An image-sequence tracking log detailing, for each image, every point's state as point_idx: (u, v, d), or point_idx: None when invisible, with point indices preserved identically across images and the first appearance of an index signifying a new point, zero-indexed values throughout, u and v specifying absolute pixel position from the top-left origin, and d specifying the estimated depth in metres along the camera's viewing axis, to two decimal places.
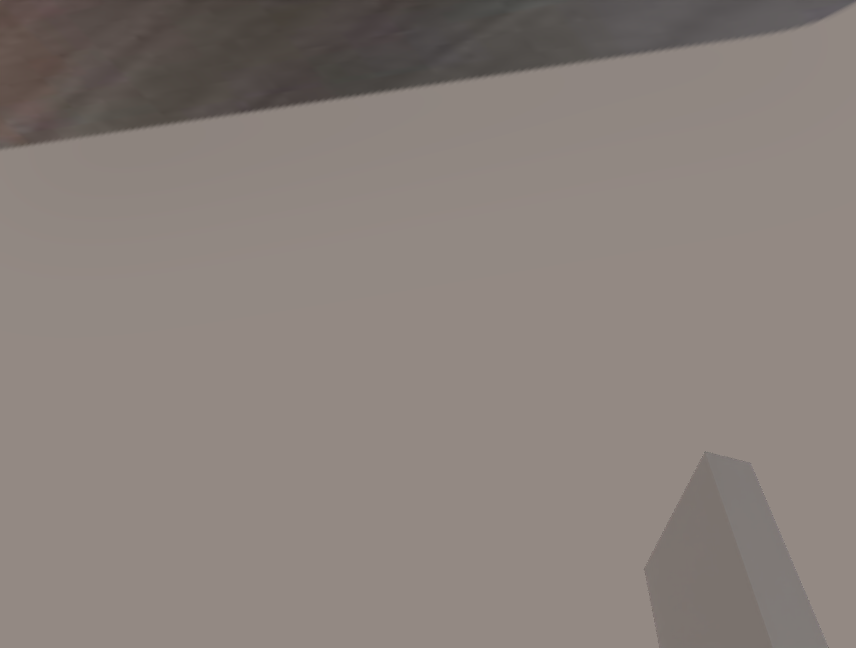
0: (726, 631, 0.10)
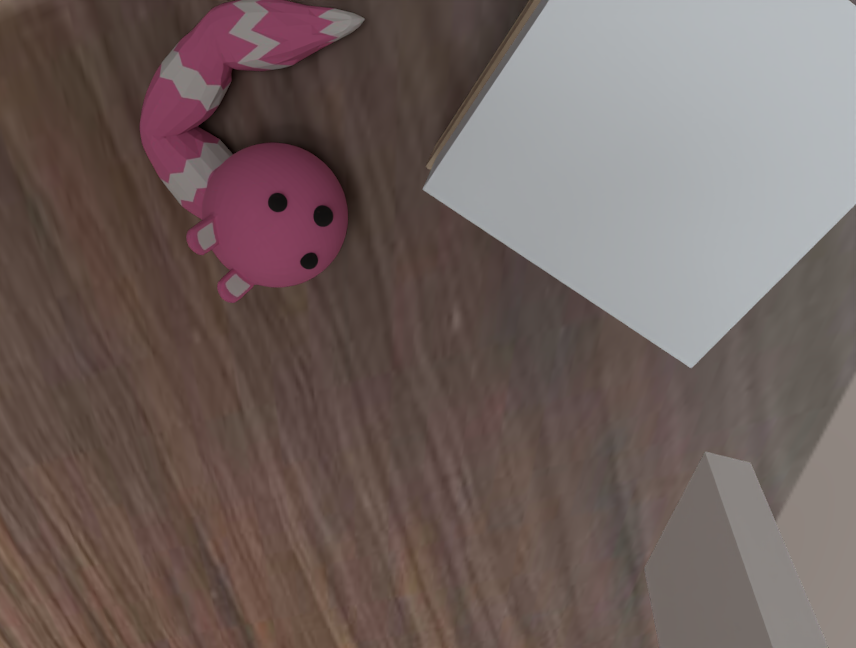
0: (726, 632, 0.10)
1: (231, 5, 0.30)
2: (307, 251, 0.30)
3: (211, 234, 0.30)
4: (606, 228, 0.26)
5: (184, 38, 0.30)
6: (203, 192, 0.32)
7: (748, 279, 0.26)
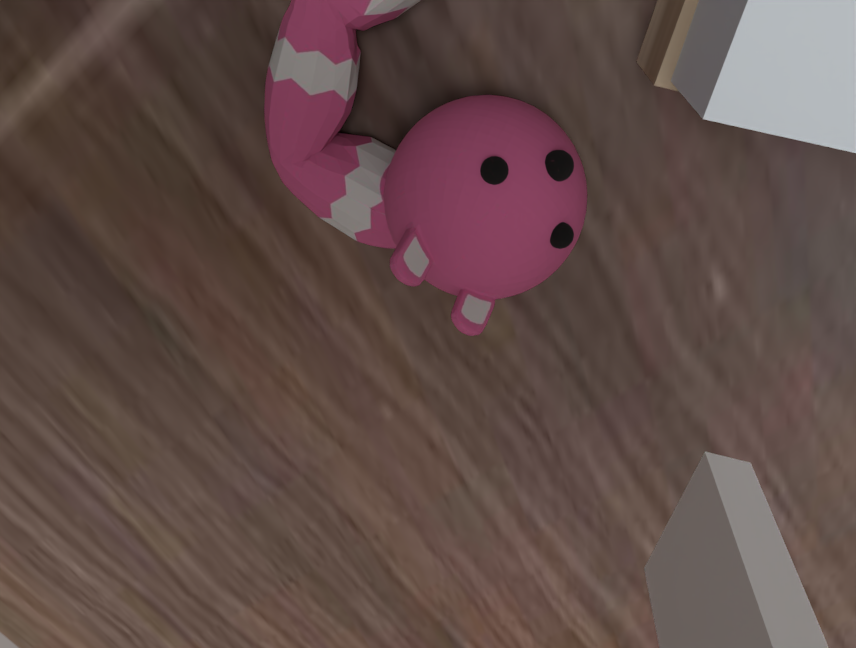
0: (726, 632, 0.10)
1: None
2: (555, 223, 0.21)
3: (420, 253, 0.21)
4: None
5: (285, 17, 0.22)
6: (380, 209, 0.24)
7: None
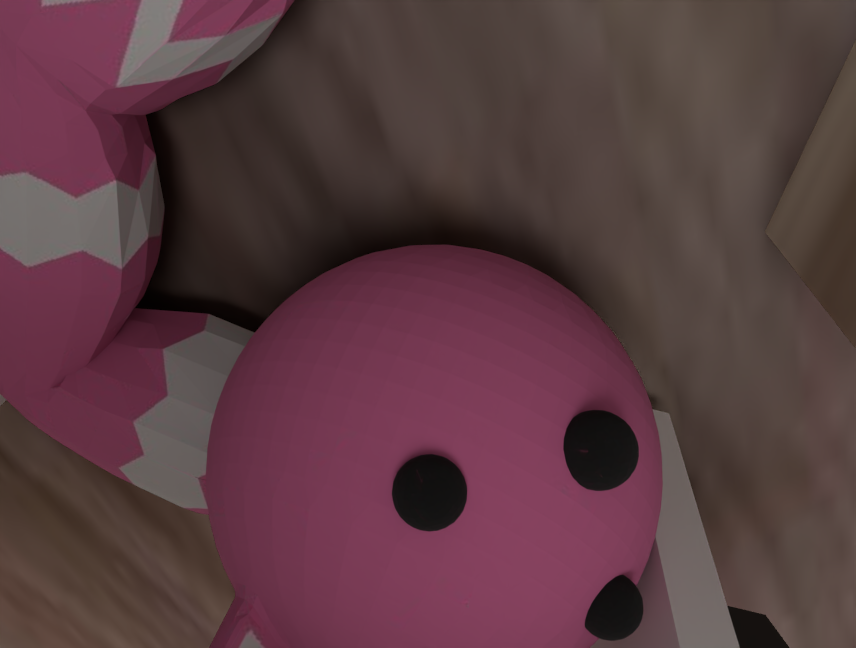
0: None
1: None
2: (596, 588, 0.08)
3: None
4: None
5: None
6: None
7: None
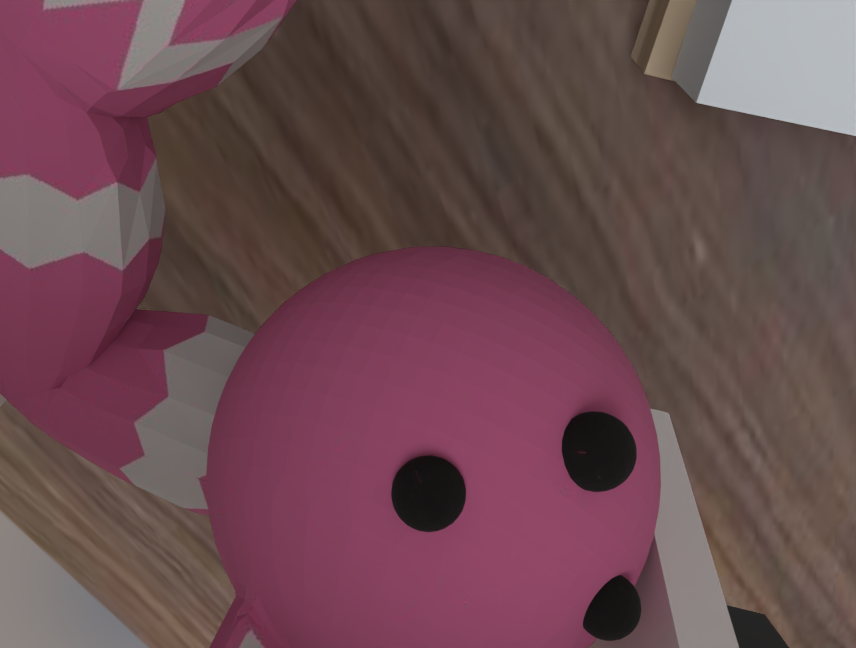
0: None
1: None
2: (594, 588, 0.08)
3: None
4: None
5: None
6: None
7: None
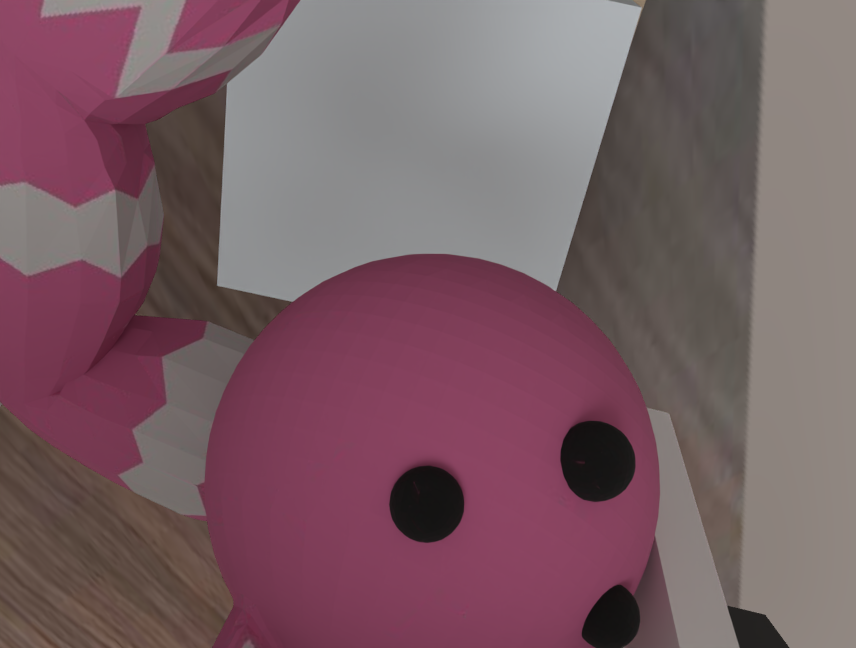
0: None
1: None
2: (593, 598, 0.08)
3: None
4: None
5: None
6: None
7: (540, 255, 0.26)
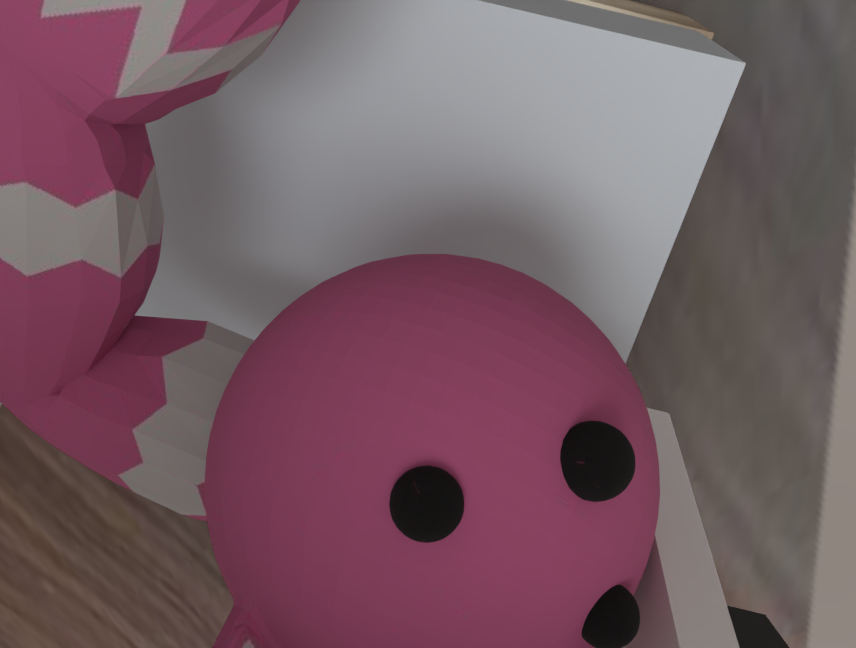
0: None
1: None
2: (593, 598, 0.08)
3: None
4: None
5: None
6: None
7: None
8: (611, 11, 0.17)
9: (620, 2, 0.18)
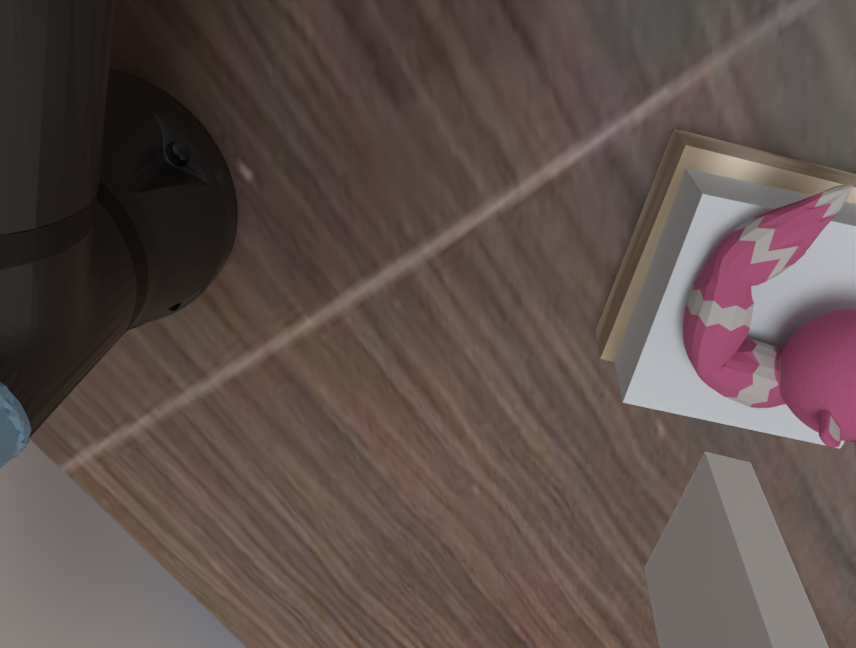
0: (726, 632, 0.10)
1: (739, 242, 0.34)
2: None
3: (835, 425, 0.33)
4: None
5: (709, 287, 0.35)
6: (775, 389, 0.36)
7: None
8: None
9: None
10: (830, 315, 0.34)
